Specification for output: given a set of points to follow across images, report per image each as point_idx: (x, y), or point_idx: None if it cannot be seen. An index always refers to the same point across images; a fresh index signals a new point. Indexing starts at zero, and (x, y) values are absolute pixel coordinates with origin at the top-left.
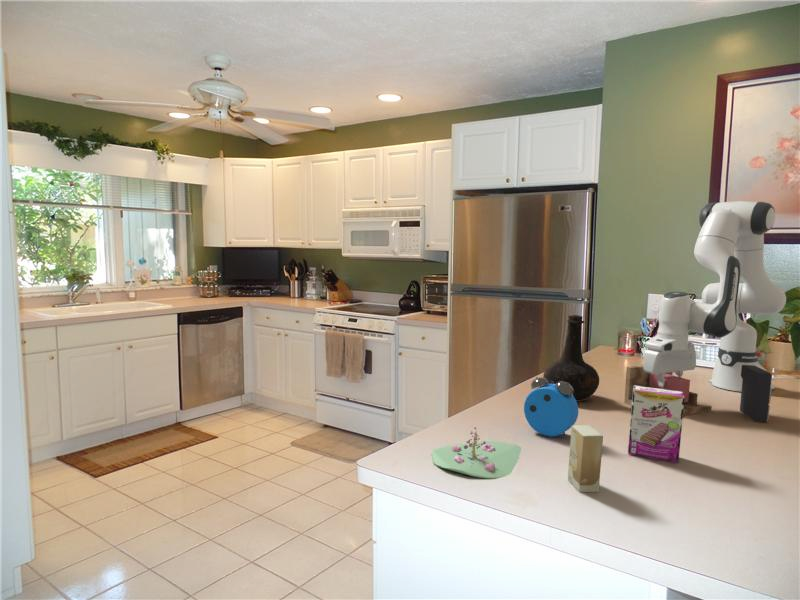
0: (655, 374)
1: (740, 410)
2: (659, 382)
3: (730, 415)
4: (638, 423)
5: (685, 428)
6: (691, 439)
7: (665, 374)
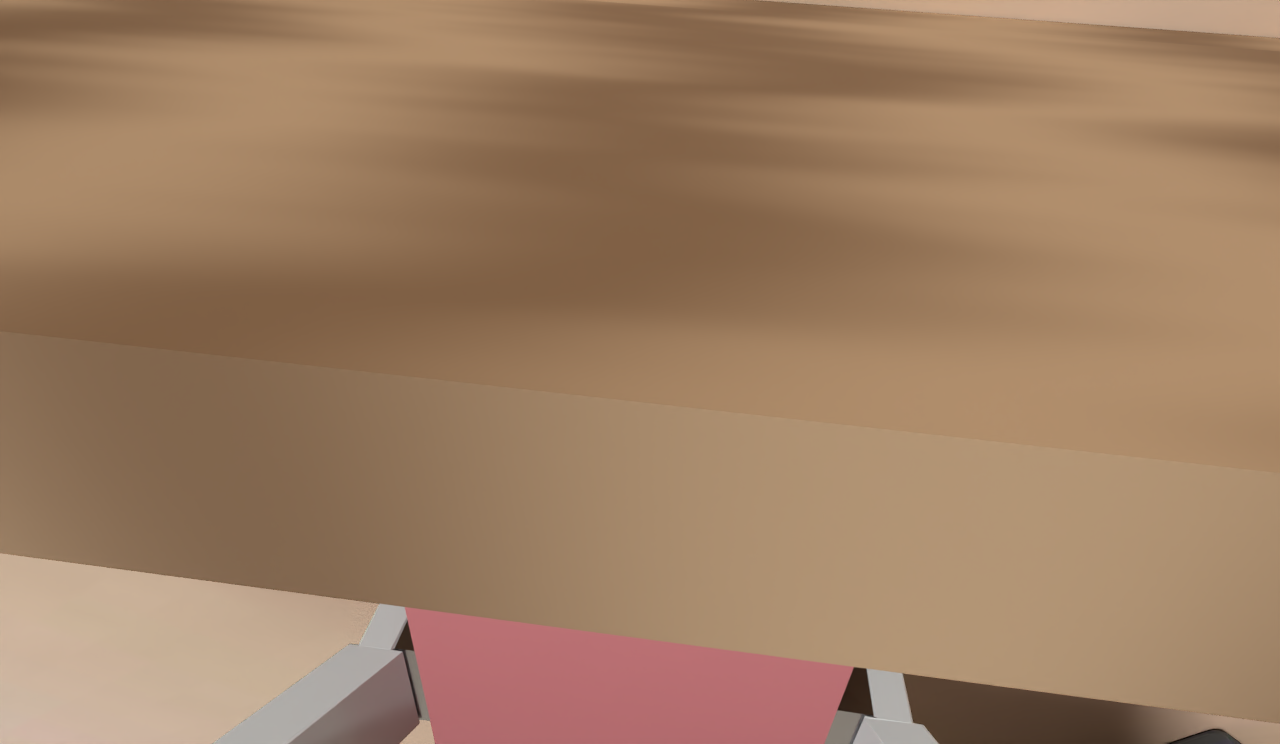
0: (409, 613)
1: (1209, 740)
2: (386, 617)
3: (966, 722)
4: None
5: (301, 676)
6: (196, 740)
7: (713, 717)
